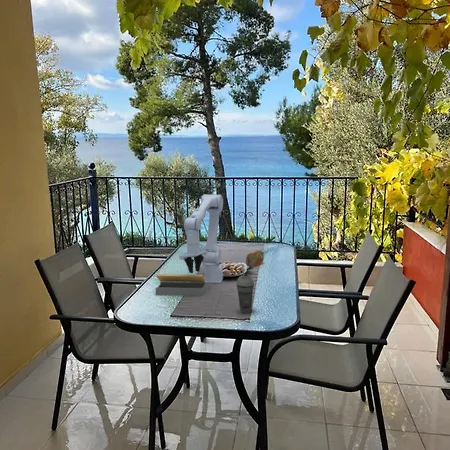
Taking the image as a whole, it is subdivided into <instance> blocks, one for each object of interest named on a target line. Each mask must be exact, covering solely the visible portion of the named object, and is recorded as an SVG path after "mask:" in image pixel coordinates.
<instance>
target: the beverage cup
mask: <svg viewBox="0 0 450 450" xmlns="http://www.w3.org/2000/svg"><path fill="white" fill-rule="evenodd" d="M241 269H242V270H241V271H242V275H240V276H239V277H238V278H237V281H236V289H237V294H238V302H239V303H238V306H239V310H240V313H241V314H250V313H251V312H252V307H253V306H252V304H253V291H254V285H255V283H254V279H253V278H252V276H250V275H249V274H245V270H244V264H243V263H242V264H241Z"/></svg>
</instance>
